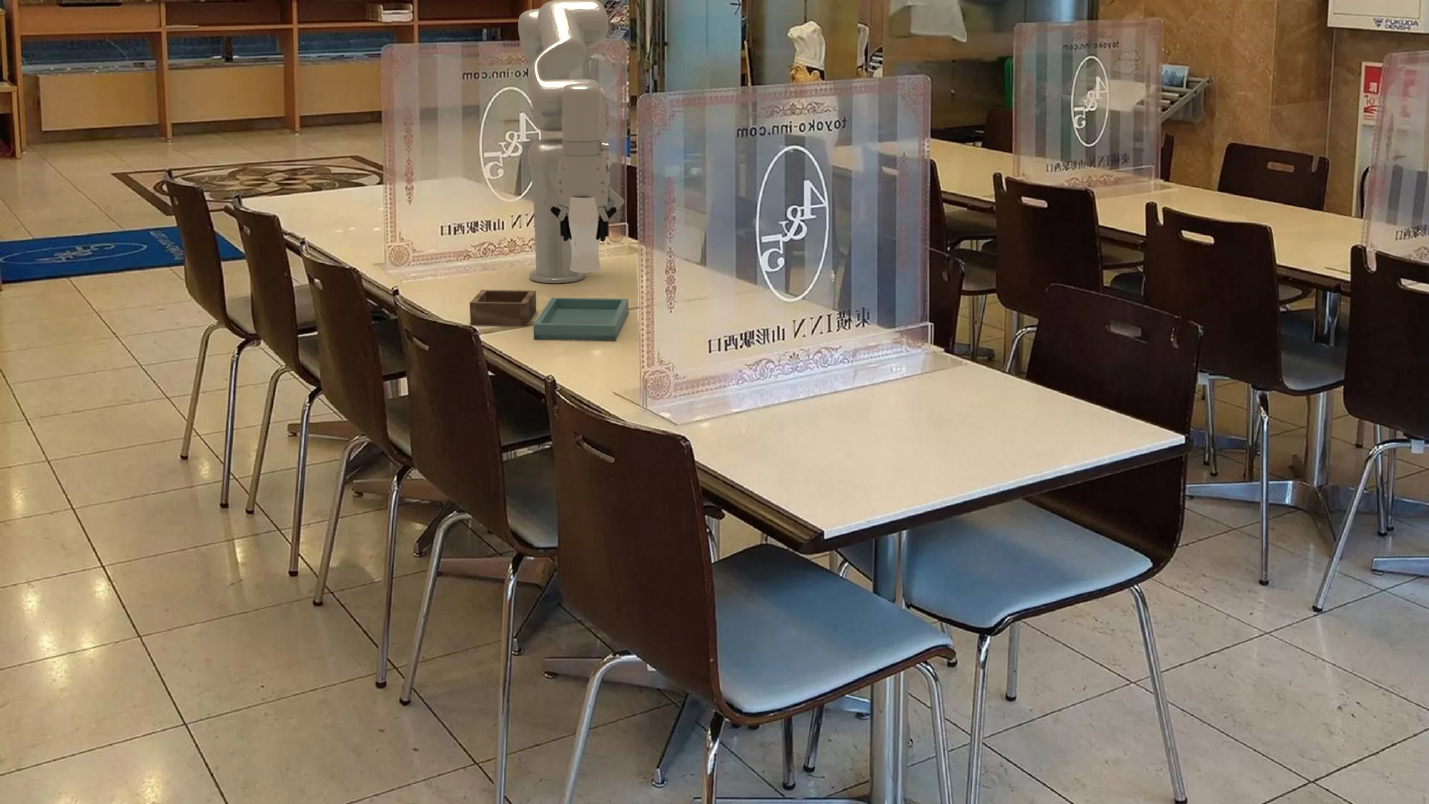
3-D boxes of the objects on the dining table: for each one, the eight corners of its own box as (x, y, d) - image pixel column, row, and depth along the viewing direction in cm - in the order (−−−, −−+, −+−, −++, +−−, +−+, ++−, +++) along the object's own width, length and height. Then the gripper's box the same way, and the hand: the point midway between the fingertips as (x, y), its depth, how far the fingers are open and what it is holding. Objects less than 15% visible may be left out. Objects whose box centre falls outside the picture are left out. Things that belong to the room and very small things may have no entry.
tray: (552, 311, 312) (551, 297, 311) (628, 312, 311) (628, 298, 310) (533, 339, 291) (533, 324, 290) (615, 340, 290) (615, 325, 289)
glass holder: (482, 310, 312) (481, 289, 311) (536, 311, 311) (535, 290, 310) (470, 324, 301) (469, 303, 300) (526, 325, 301) (525, 304, 299)
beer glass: (597, 274, 292) (596, 198, 287) (563, 273, 293) (561, 197, 289) (607, 267, 298) (605, 192, 294) (573, 265, 300) (571, 191, 295)
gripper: (629, 146, 292) (630, 237, 297) (541, 146, 293) (544, 236, 298) (624, 152, 285) (626, 244, 290) (534, 151, 286) (537, 243, 291)
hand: (584, 239), depth 294 cm, fingers closed on beer glass, 6 cm apart
